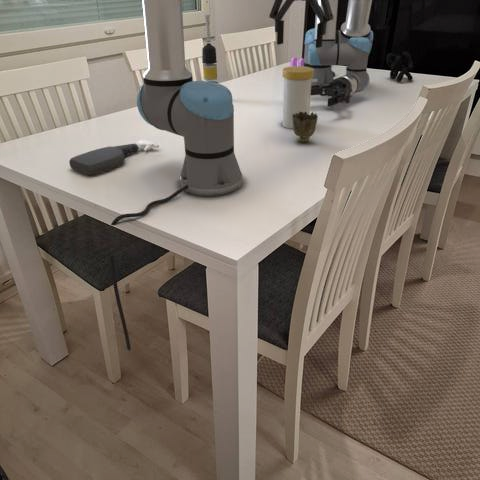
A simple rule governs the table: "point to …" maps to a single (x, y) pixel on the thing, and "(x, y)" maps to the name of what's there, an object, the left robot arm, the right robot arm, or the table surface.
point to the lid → (298, 73)
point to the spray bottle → (106, 157)
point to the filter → (209, 57)
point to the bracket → (294, 62)
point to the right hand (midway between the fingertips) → (311, 99)
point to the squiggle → (399, 66)
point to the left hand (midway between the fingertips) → (299, 45)
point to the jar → (295, 99)
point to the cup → (304, 125)
